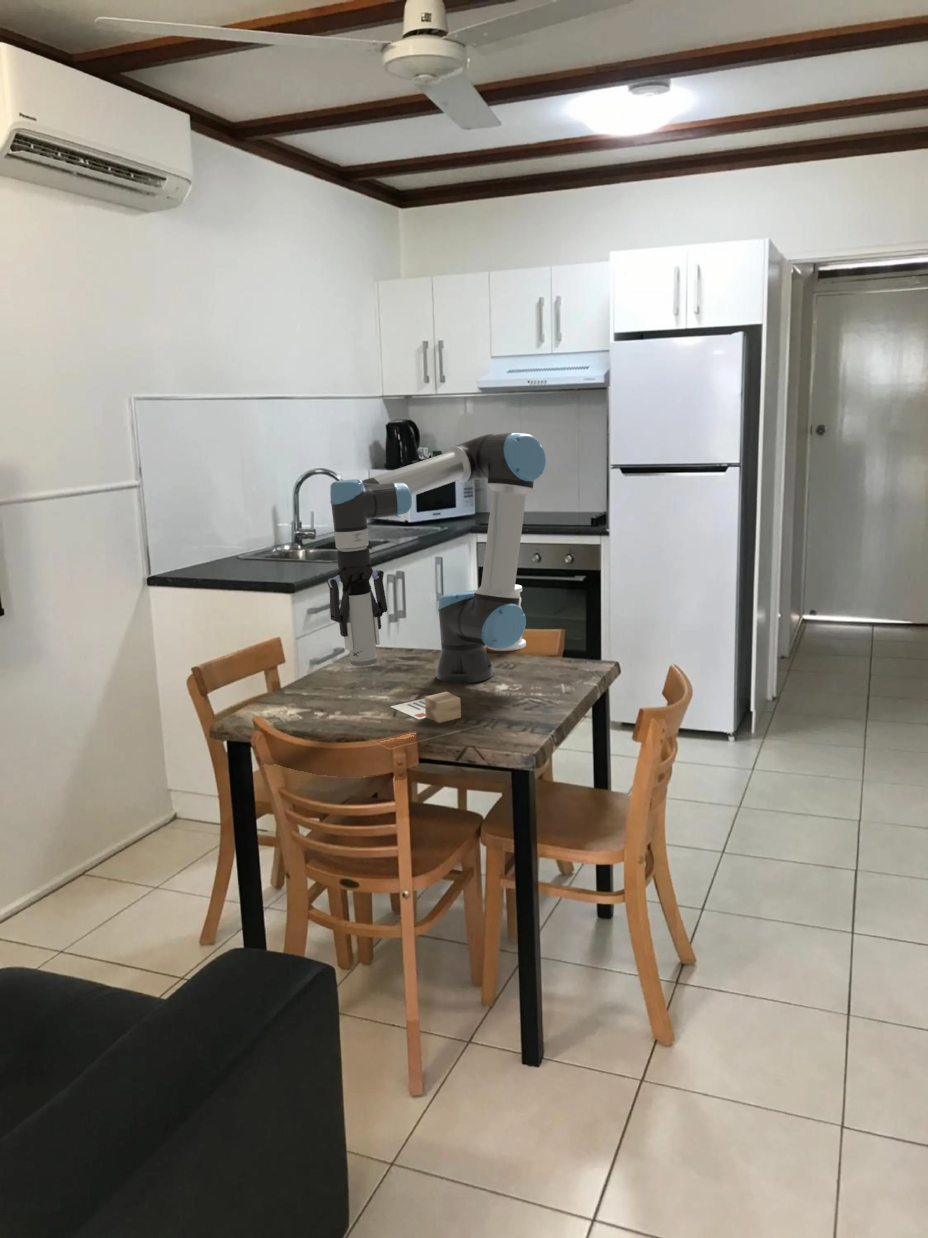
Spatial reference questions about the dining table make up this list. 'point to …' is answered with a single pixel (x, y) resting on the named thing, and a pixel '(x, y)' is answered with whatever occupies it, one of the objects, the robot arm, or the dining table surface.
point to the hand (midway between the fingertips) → (362, 646)
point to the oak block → (442, 707)
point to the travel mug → (361, 624)
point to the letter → (413, 708)
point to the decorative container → (521, 642)
